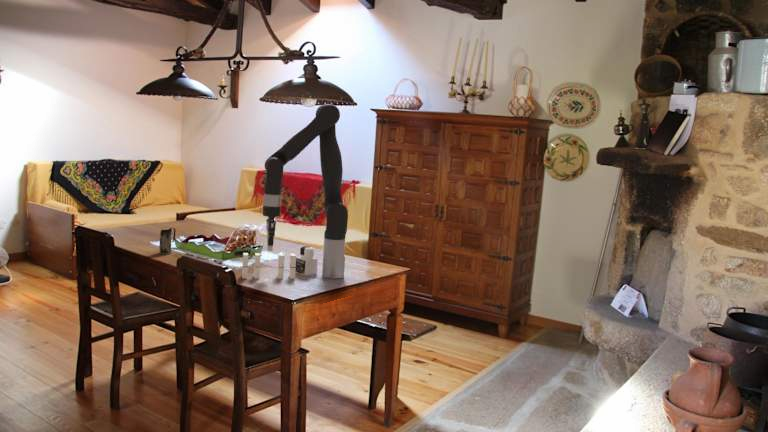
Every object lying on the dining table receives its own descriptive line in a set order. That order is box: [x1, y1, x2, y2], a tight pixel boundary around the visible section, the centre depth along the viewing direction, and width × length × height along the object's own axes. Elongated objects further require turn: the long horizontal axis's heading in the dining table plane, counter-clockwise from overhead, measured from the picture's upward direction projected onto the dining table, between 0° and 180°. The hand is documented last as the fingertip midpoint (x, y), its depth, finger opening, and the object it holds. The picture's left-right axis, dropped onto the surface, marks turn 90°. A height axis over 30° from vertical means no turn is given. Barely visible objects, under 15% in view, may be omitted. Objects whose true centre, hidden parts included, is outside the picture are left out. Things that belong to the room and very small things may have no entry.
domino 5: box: [288, 253, 297, 280], centre depth 277 cm, size 2×5×10 cm, turn 14°
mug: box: [159, 227, 177, 255], centre depth 309 cm, size 8×6×12 cm
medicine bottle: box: [295, 246, 319, 276], centre depth 286 cm, size 7×7×12 cm
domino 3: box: [266, 231, 274, 252], centre depth 273 cm, size 2×5×10 cm, turn 14°
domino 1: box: [241, 252, 249, 279], centre depth 272 cm, size 2×5×10 cm, turn 14°
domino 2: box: [253, 252, 261, 280], centre depth 273 cm, size 2×5×10 cm, turn 14°
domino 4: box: [277, 252, 285, 280], centre depth 275 cm, size 2×5×10 cm, turn 14°
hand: (270, 244), depth 273 cm, fingers closed on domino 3, 5 cm apart
